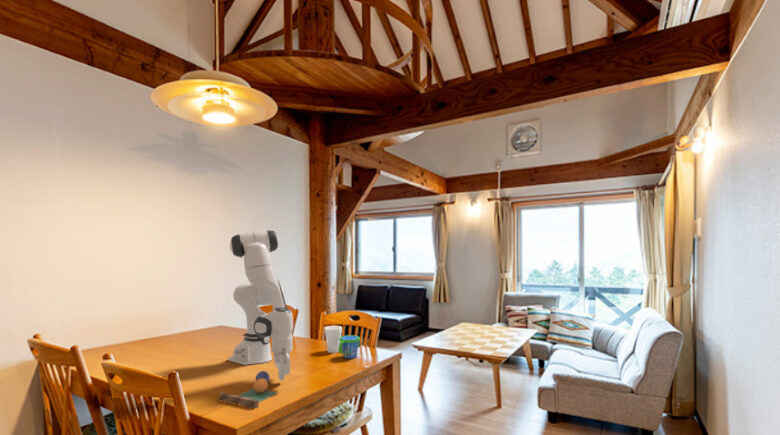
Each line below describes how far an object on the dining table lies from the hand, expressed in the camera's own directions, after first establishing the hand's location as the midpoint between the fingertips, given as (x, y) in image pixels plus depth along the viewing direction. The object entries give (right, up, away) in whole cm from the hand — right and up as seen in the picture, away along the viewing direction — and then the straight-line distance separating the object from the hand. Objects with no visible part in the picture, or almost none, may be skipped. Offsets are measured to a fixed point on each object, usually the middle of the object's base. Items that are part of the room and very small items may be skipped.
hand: (281, 379), depth 167 cm
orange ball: (-5, +2, -11) cm, 12 cm away
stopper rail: (-10, 0, -22) cm, 24 cm away
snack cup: (+25, -5, +40) cm, 47 cm away
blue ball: (-8, +1, -2) cm, 8 cm away
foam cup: (+15, -6, +51) cm, 54 cm away
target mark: (-7, -1, -14) cm, 16 cm away
